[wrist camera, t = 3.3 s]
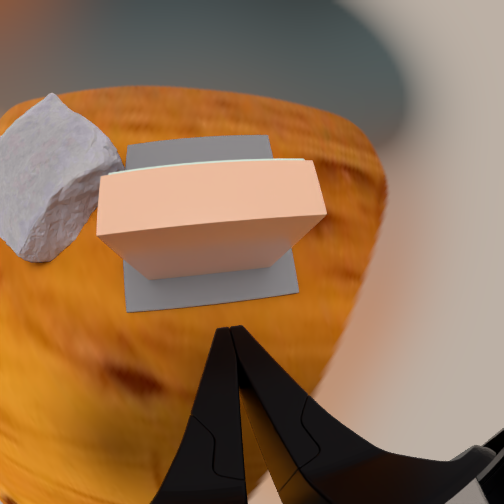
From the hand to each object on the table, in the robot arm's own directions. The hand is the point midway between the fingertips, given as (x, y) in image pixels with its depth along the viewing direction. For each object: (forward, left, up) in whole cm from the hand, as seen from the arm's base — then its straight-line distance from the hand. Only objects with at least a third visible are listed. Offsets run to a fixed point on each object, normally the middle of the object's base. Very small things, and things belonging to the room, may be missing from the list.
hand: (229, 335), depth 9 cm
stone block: (+11, +12, -7) cm, 18 cm away
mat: (+7, 0, -7) cm, 10 cm away
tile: (+4, 0, -6) cm, 8 cm away
